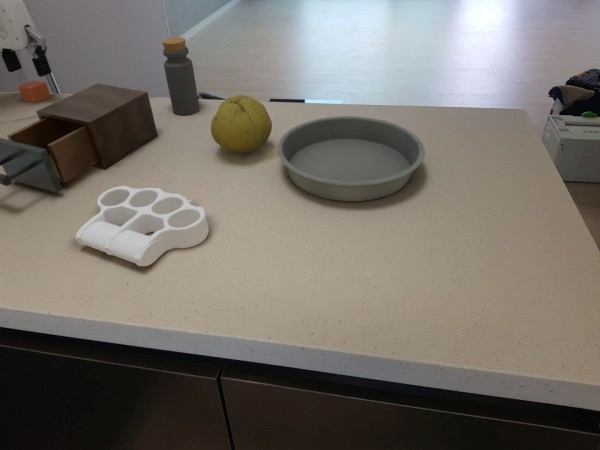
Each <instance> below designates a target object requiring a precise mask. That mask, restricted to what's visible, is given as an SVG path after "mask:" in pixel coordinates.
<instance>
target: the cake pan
mask: <svg viewBox="0 0 600 450" xmlns="http://www.w3.org/2000/svg"><path fill="white" fill-rule="evenodd" d="M276 151H277V156H278V157H279V159H280V161H281V162H282V164H283V166H285V167H286V170H287V173H288V174H287V175H288V176H289V178H290V180H291V182H293V183H294V184H295V185H296V186H297V187H298V188H300V189H301V190H303V191H304V192H307V193H308V194H311V195H313V196H316V197H319V198H322V199H326V200H331V201H337V202H366V201H373V200H377V199H381V198H384V197H387V196H390V195H392V194H395V193H396V192H398V191H399V190H401V189H402V188H403V187H404V186H406V184H407V183H408V182H409V180H410V179H411V176H412V174H413V172H414V171H416V169H418V167H420V165H421V164H422V162H423V161H424V159H425V155H426V149H425V145H424V144H423V142H422V140H421V139H420V138H419V137H418V136H417V135H416V134H415V133H413V132H412V131H411V130H409V129H407V128H405V127H403V126H401V125H399V124H396V123H393V122H391V121H387V120H383V119H380V118H373V117H367V116H355V115H340V116H327V117H322V118H316V119H312V120H309V121H306V122H303V123H301V124H298V125H296V126H294V127H292V128H291V129H289V130H288V131H286V133H284V134H283V135H282V136H281V137H280V139H279V140H278V143H277V147H276Z"/></svg>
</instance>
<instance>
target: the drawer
mask: <svg viewBox="0 0 600 450" xmlns="http://www.w3.org/2000/svg"><path fill="white" fill-rule="evenodd" d="M98 162H99V158H98V155H97V152H96V149H95V146H94V143H93V140H92V137H91V134H90V131H89V128H88V126H86V125H81V124H77V123H72V122H67V121H63V120H58V119H53V118H48V117H45V118H43V119H41V120H37V121H35V122H33V123H30V124H29V125H26V126H24V127H22V128H20V129H17V130H15V131H13V132H11V133H9V134H7V139H6V138H3V137H2V138H1V137H0V167H1V166H2V168H3V171H4V172H5V173H4V174H3V173H0V185H3V186H6V187H8V186H10V185H12V183H13V182H18V183H21V184H25V185H28V186H30V187H36V188H39V189H42V190H45V191H49V192H52V193H56V194H57V193H59V192H61V191H62V190H63V187H62V185H61V183H65V184H66V183H67V182H69V181H71V180H72V179H74V178H75V177H77V176H79V175H80V174H82V173H84V172H85V171H87V170H88V169H90V168H91V166H93V165H95V164H96V163H98Z"/></svg>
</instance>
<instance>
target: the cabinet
mask: <svg viewBox="0 0 600 450" xmlns="http://www.w3.org/2000/svg"><path fill="white" fill-rule="evenodd" d="M36 115H37V117H38V119H39V120H41V119H43V118H45V117H48V118H53V119H58V120H63V121H67V122H72V123H77V124H81V125H86V126H88V128H89V131H90V134H91V137H92V140H93V143H94V146H95V149H96V152H97V155H98V158H99V162H98V163H96V164H95V165H93V166H91V167H92V168H96V169H100V170H103V171H106V170H108V169H109V168H111V167H112V166H114V165H115V164H117V163H118V162H120V161H121V160H123V159H125V158H126V157H127V156H128V157H129V155H131V154H132V153H134V152H135V151H137V150H138V149H140V148H141V147H143V146H145V145H146V144H148V143H149V142H151V141H152V140H154V139H156V138H158V137H159V135H158V131H157V126H156V122H155V118H154V113H153V109H152V105H151V101H150V96H149V93H148V91H144V90H138V89H132V88H126V87H120V86H114V85H109V84H102V83H95V84H93V85H90V86H89V87H87V88H84V89H82V90H80V91H78V92H75V93H73V94H71V95H69V96H66V97H65V98H62V99H60V100H58V101H55V102H54V103H53V102H52V103H50V104H49V105H47V106H43V107H42V108H40V109H38V110H36ZM39 120H38V121H39ZM91 167H90V168H91Z"/></svg>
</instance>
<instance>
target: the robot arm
mask: <svg viewBox="0 0 600 450" xmlns="http://www.w3.org/2000/svg"><path fill="white" fill-rule="evenodd" d="M34 48H35V49H34ZM23 50H26V51H27V52H28V54H30V56H31V61H32V63H33V66H34V68H35V71H36V74H37V76H38V77H40V78H42V77H44V76H47V75H50V74H51V73H52V68H51V65H50V63H49V60H48V58H47V55H48V53H47V50H48V46H47V38H46V35H44V34H42V33H41V32H39V31H38V30H37V29H36V26H35V23H34V22H33V19H32V16H31V15H30V12H29V11H28V9H27V7H26V5H25V2H24V1H23V0H0V56H1V58H2V60H3V63H4V65H5V67H6V71H8V73H13V72H17V71H19V70H22V68H23V67H22V64H21V62H20V59H19V58H18V55H17V52H16V51H23Z"/></svg>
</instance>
